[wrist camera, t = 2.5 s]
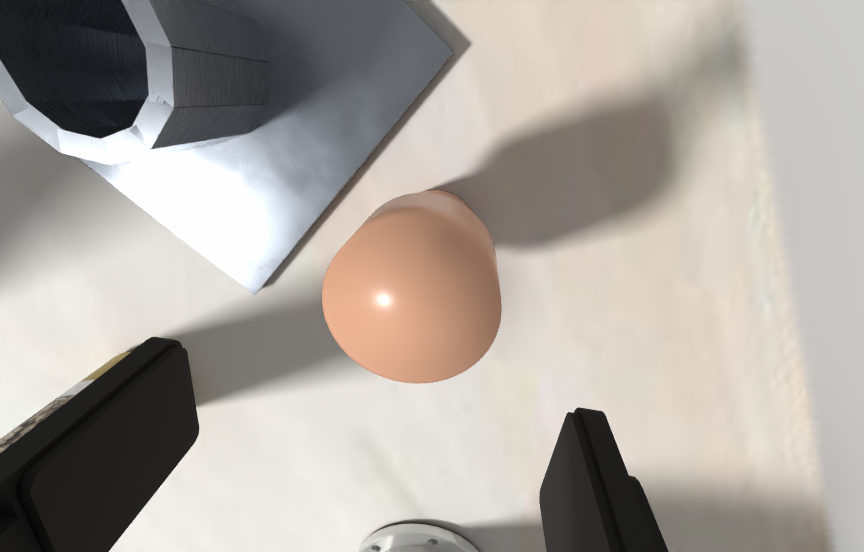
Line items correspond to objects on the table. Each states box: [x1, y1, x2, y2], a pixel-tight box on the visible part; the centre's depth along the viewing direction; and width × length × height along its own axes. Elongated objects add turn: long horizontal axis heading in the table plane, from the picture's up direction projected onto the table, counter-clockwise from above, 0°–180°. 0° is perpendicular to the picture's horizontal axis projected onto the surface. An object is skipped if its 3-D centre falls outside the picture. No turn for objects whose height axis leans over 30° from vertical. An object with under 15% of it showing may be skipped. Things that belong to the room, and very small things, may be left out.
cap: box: [322, 190, 501, 383], centre depth 21 cm, size 7×7×11 cm
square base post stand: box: [0, 0, 454, 295], centre depth 20 cm, size 20×20×9 cm
